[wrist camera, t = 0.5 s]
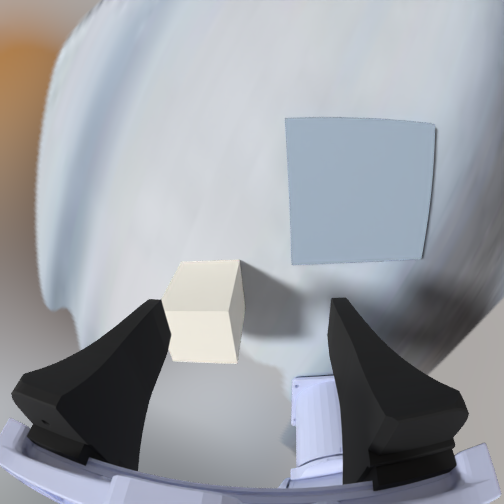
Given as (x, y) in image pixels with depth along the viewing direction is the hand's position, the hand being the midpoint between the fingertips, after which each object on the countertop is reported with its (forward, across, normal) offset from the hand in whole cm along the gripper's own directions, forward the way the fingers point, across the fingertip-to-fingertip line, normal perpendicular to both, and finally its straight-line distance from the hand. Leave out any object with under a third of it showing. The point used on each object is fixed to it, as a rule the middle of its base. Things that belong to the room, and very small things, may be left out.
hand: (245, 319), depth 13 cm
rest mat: (+10, -7, -2) cm, 12 cm away
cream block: (+10, +4, +5) cm, 11 cm away
